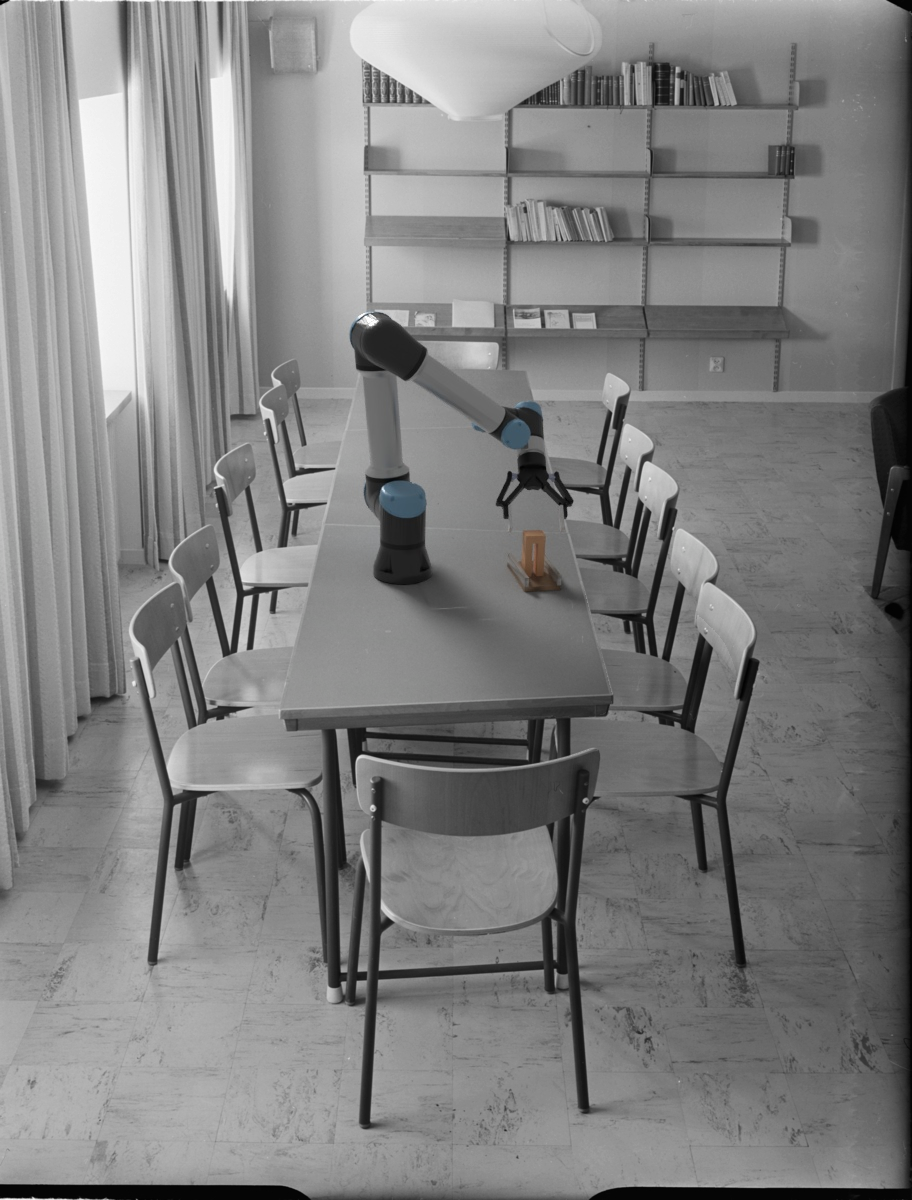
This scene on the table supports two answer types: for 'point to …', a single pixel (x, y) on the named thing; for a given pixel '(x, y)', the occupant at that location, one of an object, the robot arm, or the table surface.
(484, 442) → the table surface
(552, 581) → the rail
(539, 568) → the clip
